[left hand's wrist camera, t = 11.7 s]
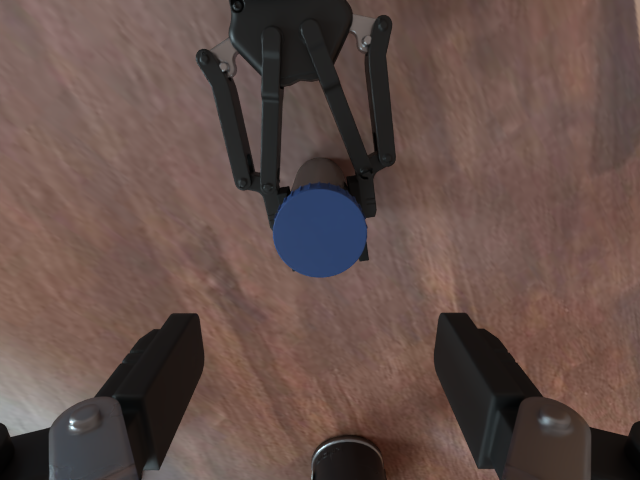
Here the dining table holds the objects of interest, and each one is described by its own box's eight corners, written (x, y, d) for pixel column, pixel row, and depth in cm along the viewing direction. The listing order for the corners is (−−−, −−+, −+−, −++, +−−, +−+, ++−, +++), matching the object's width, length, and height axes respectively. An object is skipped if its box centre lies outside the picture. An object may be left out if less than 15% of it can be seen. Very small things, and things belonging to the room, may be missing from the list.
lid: (375, 252, 23) (379, 263, 21) (293, 277, 24) (291, 289, 22) (349, 168, 21) (352, 174, 20) (261, 198, 22) (256, 205, 20)
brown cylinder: (350, 197, 36) (370, 256, 22) (304, 212, 36) (295, 279, 22) (335, 150, 34) (347, 181, 20) (288, 167, 35) (267, 207, 21)
